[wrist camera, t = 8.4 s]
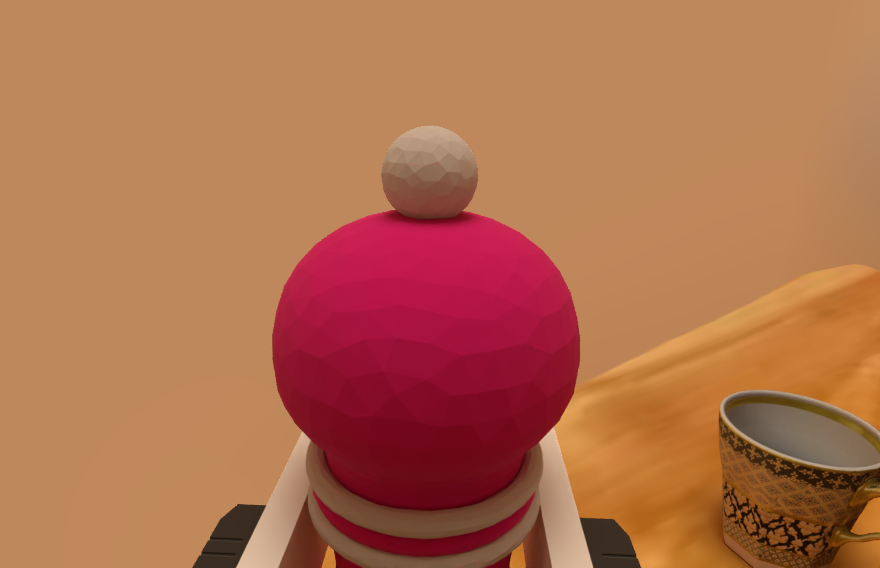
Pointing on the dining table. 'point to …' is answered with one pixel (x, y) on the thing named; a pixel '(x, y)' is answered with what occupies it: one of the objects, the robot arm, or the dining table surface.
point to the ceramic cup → (794, 477)
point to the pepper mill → (425, 370)
